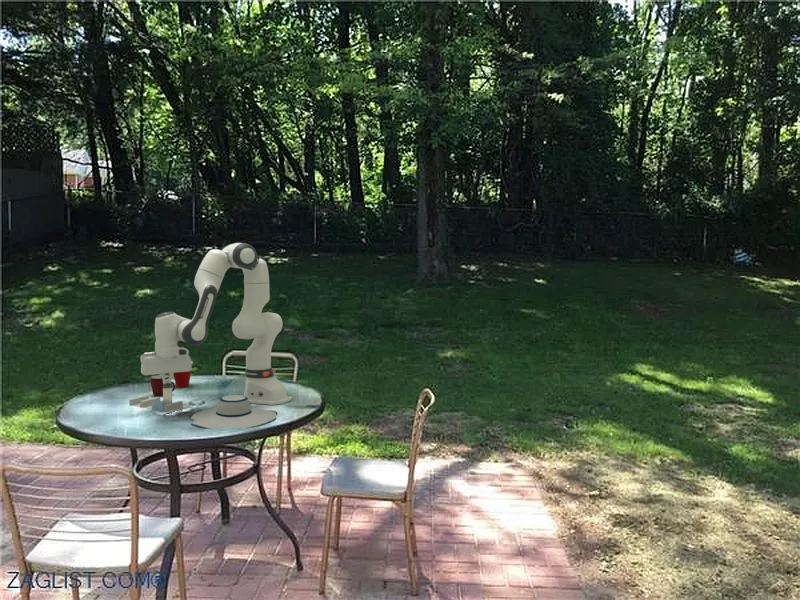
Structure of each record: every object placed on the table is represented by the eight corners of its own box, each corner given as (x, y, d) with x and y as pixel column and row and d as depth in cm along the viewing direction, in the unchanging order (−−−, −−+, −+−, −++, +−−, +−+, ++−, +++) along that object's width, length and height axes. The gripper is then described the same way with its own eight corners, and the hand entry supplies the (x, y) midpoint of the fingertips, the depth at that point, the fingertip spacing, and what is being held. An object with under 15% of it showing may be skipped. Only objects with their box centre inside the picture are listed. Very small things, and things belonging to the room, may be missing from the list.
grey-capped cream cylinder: (174, 407, 294) (174, 384, 293) (167, 409, 290) (167, 386, 289) (168, 406, 295) (167, 383, 294) (161, 408, 292) (160, 385, 291)
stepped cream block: (182, 410, 295) (182, 397, 294) (165, 415, 287) (165, 402, 286) (146, 404, 305) (145, 391, 305) (128, 408, 297) (128, 396, 296)
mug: (174, 395, 322) (173, 373, 321) (176, 398, 315) (176, 377, 314) (150, 397, 318) (149, 375, 317) (152, 401, 311) (151, 379, 310)
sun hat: (177, 415, 291) (177, 393, 290) (260, 404, 310) (259, 384, 309) (202, 436, 260) (202, 412, 259) (292, 423, 279) (292, 400, 278)
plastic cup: (170, 385, 343) (169, 361, 342) (193, 383, 346) (192, 360, 345) (170, 390, 333) (169, 365, 332) (193, 388, 336) (193, 364, 335)
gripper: (141, 354, 282) (142, 387, 284) (192, 350, 293) (193, 382, 294) (138, 351, 288) (139, 384, 289) (188, 348, 298) (189, 379, 300)
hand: (166, 383), depth 292 cm, fingers closed
